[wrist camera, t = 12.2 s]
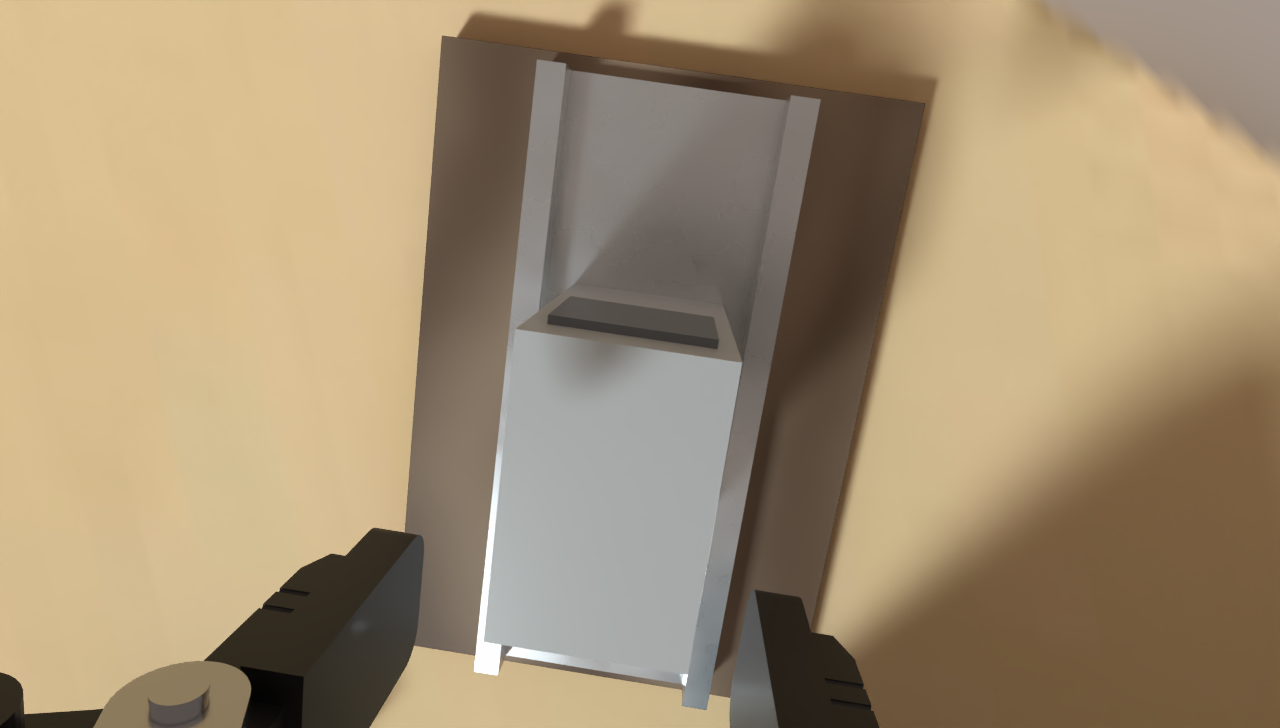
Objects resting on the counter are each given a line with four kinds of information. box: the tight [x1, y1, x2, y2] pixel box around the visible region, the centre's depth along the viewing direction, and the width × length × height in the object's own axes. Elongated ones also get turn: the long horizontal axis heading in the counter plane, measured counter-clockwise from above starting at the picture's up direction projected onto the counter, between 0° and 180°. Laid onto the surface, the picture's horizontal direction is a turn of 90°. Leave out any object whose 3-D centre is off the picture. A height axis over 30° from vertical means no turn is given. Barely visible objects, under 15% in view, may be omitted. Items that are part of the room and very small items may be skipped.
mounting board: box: [405, 36, 925, 698], centre depth 24 cm, size 14×20×1 cm
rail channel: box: [474, 59, 821, 710], centre depth 23 cm, size 8×19×2 cm, turn 172°
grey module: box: [483, 283, 742, 675], centre depth 19 cm, size 4×7×8 cm, turn 172°
